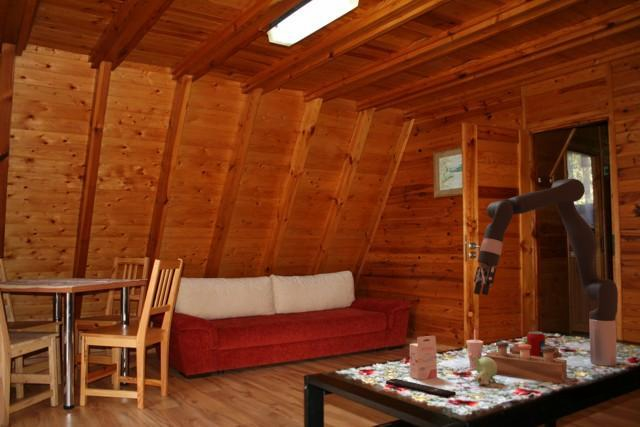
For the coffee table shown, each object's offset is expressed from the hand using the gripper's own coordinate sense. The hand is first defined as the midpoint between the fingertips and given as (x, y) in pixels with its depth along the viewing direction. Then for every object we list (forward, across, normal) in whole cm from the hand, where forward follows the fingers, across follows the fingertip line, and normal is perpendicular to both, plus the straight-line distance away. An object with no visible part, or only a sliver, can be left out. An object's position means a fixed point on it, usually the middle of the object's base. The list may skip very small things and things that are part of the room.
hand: (480, 294), depth 198 cm
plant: (+17, +35, -41) cm, 56 cm away
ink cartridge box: (+34, -4, +14) cm, 37 cm away
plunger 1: (+22, +2, -15) cm, 26 cm away
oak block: (+24, -2, -22) cm, 32 cm away
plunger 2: (+19, -7, -27) cm, 34 cm away
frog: (+30, -13, -4) cm, 33 cm away
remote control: (+37, -19, +19) cm, 46 cm away
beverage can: (+20, +16, -33) cm, 42 cm away
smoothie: (+27, +11, -8) cm, 30 cm away
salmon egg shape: (+20, -3, -21) cm, 29 cm away
